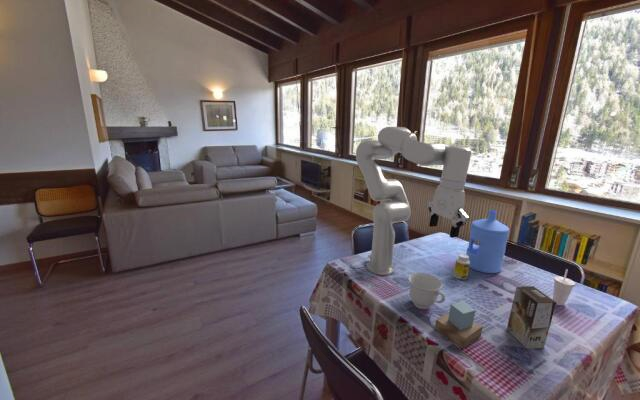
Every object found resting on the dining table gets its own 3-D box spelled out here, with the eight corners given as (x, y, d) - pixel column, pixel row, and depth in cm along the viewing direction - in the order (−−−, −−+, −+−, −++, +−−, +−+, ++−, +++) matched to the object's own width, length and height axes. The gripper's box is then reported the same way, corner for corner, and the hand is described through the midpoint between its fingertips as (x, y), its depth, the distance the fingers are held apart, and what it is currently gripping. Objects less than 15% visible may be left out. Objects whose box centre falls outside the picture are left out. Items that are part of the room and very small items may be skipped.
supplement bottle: (462, 281, 126) (466, 259, 124) (450, 275, 131) (454, 254, 128) (469, 278, 129) (473, 257, 127) (457, 272, 134) (461, 252, 131)
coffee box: (545, 348, 89) (558, 302, 85) (526, 349, 89) (538, 303, 85) (522, 328, 98) (533, 285, 94) (505, 328, 98) (515, 286, 93)
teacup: (428, 323, 98) (432, 297, 96) (398, 299, 111) (400, 276, 109) (452, 314, 104) (457, 289, 101) (421, 292, 117) (424, 270, 114)
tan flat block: (434, 329, 96) (436, 319, 95) (451, 319, 102) (453, 309, 101) (463, 349, 88) (465, 338, 87) (480, 337, 94) (482, 326, 93)
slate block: (448, 320, 95) (450, 304, 94) (459, 316, 97) (462, 301, 95) (460, 330, 91) (463, 313, 89) (472, 326, 92) (475, 310, 91)
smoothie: (564, 299, 115) (574, 268, 112) (572, 309, 110) (582, 276, 106) (545, 296, 117) (554, 264, 114) (551, 305, 112) (561, 272, 108)
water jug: (501, 264, 143) (513, 210, 136) (500, 277, 131) (513, 218, 123) (466, 255, 151) (476, 204, 144) (462, 267, 138) (472, 211, 131)
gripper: (425, 178, 104) (417, 223, 109) (465, 191, 88) (454, 243, 93) (441, 177, 106) (433, 221, 111) (482, 190, 91) (471, 240, 96)
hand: (442, 231), depth 102 cm, fingers open, 9 cm apart
